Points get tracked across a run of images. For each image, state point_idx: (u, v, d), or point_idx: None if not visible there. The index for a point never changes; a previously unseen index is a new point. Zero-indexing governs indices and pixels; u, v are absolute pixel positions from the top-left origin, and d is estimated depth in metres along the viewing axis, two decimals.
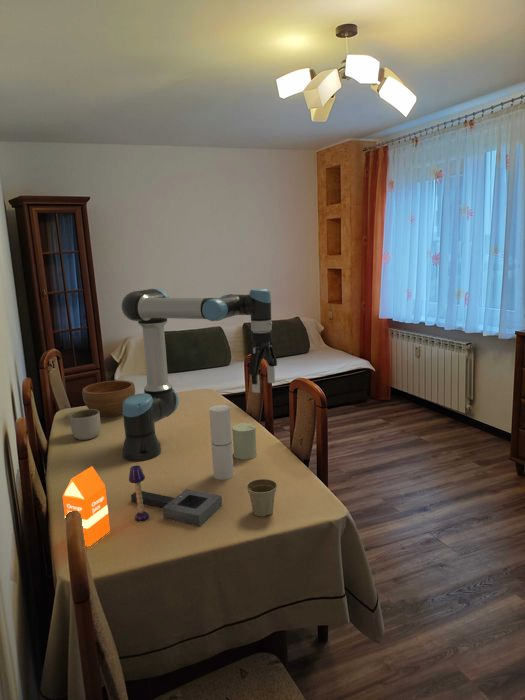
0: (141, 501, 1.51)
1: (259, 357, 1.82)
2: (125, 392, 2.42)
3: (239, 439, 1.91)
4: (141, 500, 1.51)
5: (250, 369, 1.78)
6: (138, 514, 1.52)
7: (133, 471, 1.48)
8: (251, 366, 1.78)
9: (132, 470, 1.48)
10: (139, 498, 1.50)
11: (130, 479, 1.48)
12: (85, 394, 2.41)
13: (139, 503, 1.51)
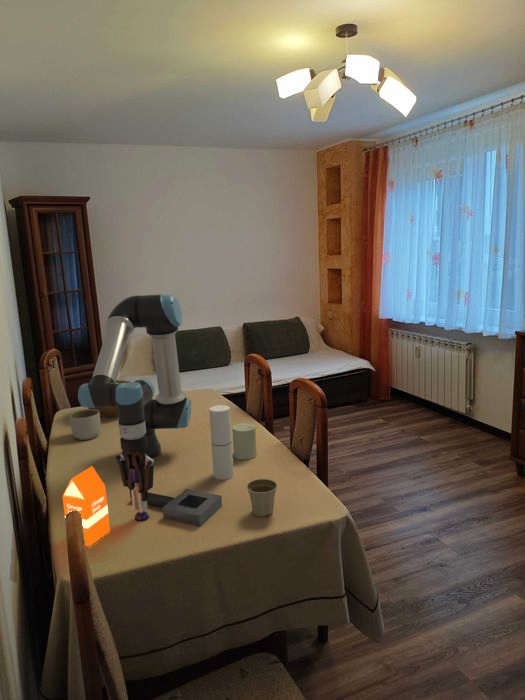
0: None
1: None
2: None
3: (239, 439, 1.91)
4: None
5: None
6: (138, 514, 1.52)
7: (133, 471, 1.48)
8: None
9: (132, 470, 1.48)
10: None
11: (130, 479, 1.48)
12: None
13: None
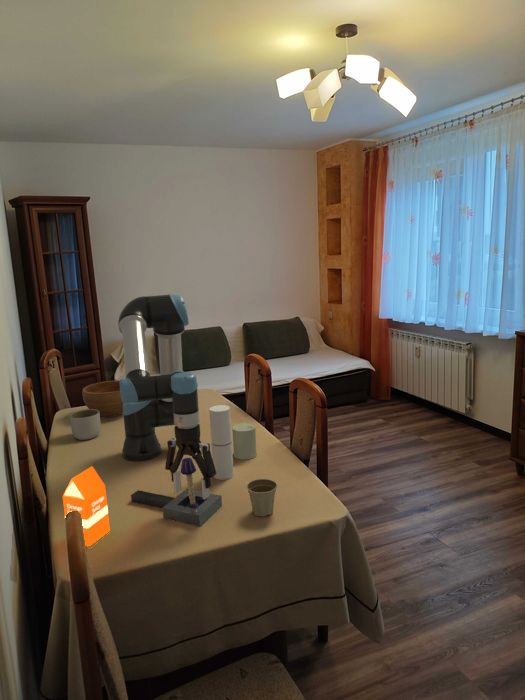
0: (193, 493, 1.54)
1: None
2: None
3: (239, 439, 1.91)
4: (193, 492, 1.54)
5: None
6: (190, 506, 1.54)
7: (185, 463, 1.51)
8: None
9: (184, 462, 1.51)
10: (191, 490, 1.53)
11: (182, 471, 1.51)
12: (85, 394, 2.41)
13: (191, 495, 1.53)
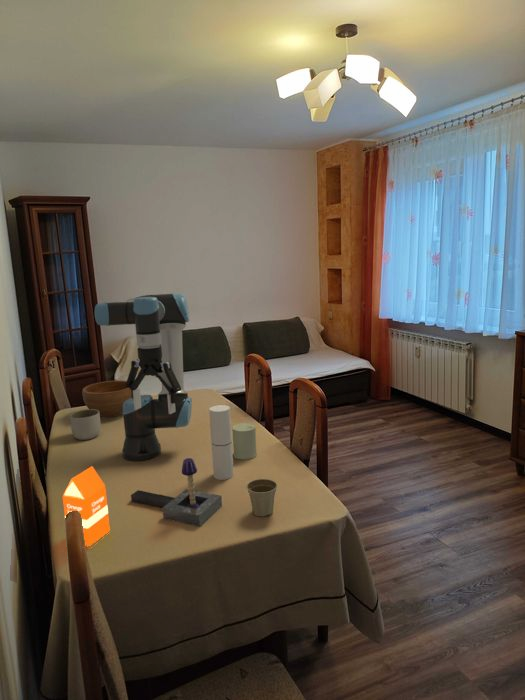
0: (193, 493, 1.53)
1: None
2: (125, 392, 2.42)
3: (239, 439, 1.91)
4: (193, 492, 1.53)
5: None
6: (190, 506, 1.54)
7: (186, 464, 1.50)
8: None
9: (185, 463, 1.50)
10: (191, 490, 1.53)
11: (183, 471, 1.51)
12: (85, 394, 2.41)
13: (191, 495, 1.53)
